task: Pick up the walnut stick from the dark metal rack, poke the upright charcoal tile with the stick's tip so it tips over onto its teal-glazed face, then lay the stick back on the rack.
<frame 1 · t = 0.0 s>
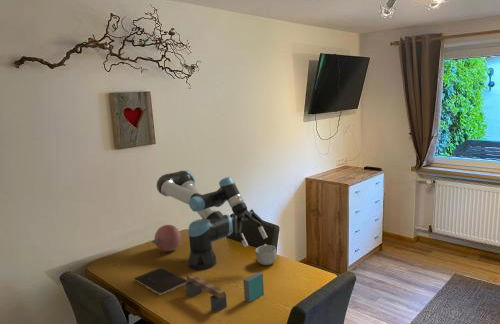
hand: (256, 242, 192), 15 cm above the table, tool tilted 35°, fingers open, 13 cm apart
tile: (254, 297, 169), on the table
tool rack: (206, 300, 168), on the table
balloon: (166, 252, 225), on the table
teacup: (266, 262, 204), on the table
hardcover book: (161, 283, 188), on the table
walnut stick: (205, 288, 167), point 6 cm above the table, touching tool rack
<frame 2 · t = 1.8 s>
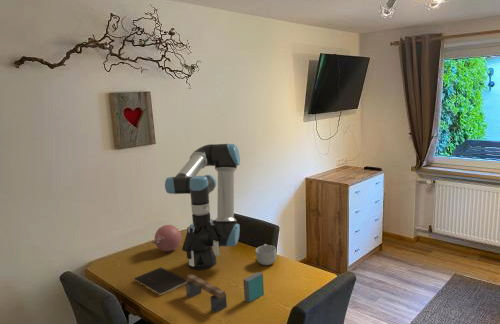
hand: (204, 260, 165), 19 cm above the table, tool pointing down, fingers open, 13 cm apart
nothing on the table moved.
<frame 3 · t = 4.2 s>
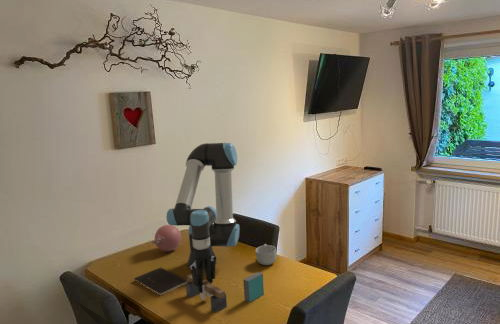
hand: (205, 296, 168), 2 cm above the table, tool pointing down, fingers closed on walnut stick, 2 cm apart
walnut stick: (205, 288, 167), point 6 cm above the table, touching gripper, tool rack
everything else where it was.
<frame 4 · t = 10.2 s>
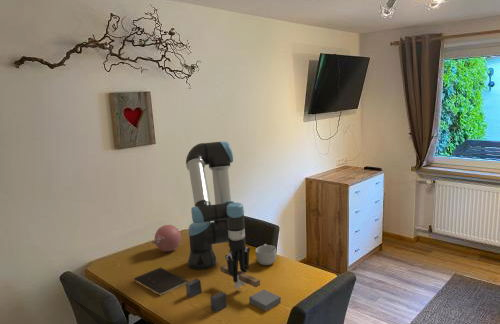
hand: (239, 286, 175), 2 cm above the table, tool pointing down, fingers closed on walnut stick, 2 cm apart
tile: (256, 296, 168), point 1 cm above the table, tilted 90°
walnut stick: (239, 278, 174), point 6 cm above the table, touching gripper
everything else where it was.
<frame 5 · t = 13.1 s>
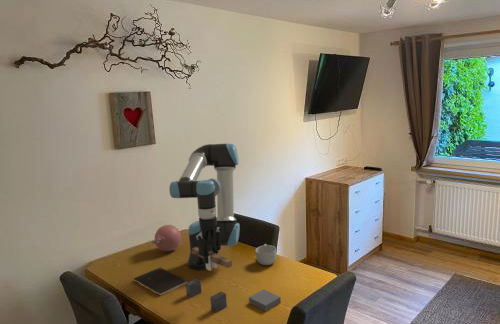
hand: (211, 268, 167), 15 cm above the table, tool pointing down, fingers closed on walnut stick, 2 cm apart
walnut stick: (211, 259, 166), point 19 cm above the table, touching gripper
everything else where it was.
when the fingers open (4 cm above the table, at t = 15.6 s): walnut stick drops 2 cm, resting on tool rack.
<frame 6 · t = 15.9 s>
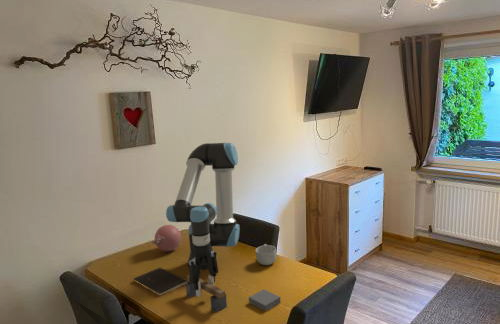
hand: (205, 292, 168), 4 cm above the table, tool pointing down, fingers open, 7 cm apart
walnut stick: (205, 288, 167), point 6 cm above the table, touching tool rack
everything else where it was.
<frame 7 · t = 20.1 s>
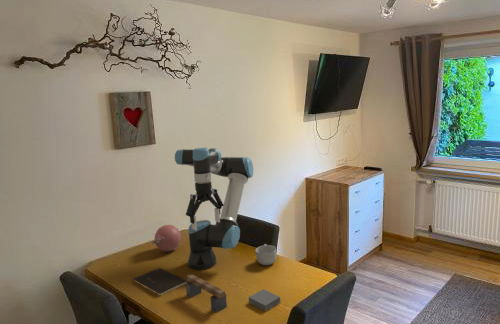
hand: (206, 225, 180), 29 cm above the table, tool pointing down, fingers open, 13 cm apart
nothing on the table moved.
at the end: tile tilted 90°; tile inside the target area (5.8 cm from its centre), point 1.1 cm above the table; walnut stick inside the target area (0.1 cm from its centre), point 6.0 cm above the table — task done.
